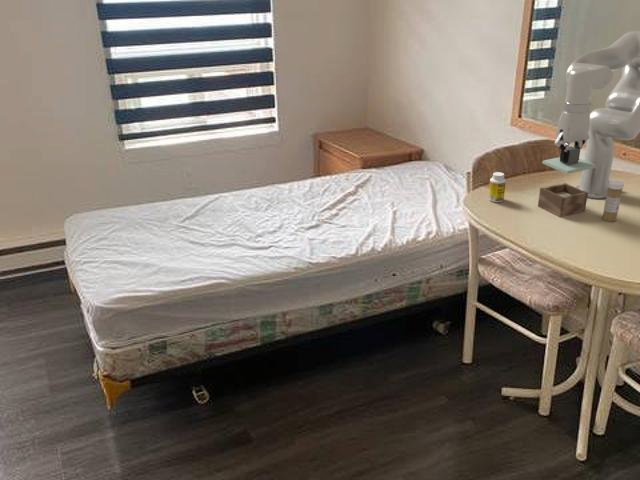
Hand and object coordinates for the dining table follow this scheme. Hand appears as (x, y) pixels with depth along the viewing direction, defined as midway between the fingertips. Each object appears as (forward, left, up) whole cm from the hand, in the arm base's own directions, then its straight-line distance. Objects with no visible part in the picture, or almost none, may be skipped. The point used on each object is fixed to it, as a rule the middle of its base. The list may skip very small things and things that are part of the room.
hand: (569, 160), depth 202 cm
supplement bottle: (+16, -17, -18) cm, 29 cm away
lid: (0, 0, -3) cm, 3 cm away
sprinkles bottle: (-7, +14, -18) cm, 24 cm away
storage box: (+1, 0, -18) cm, 18 cm away
